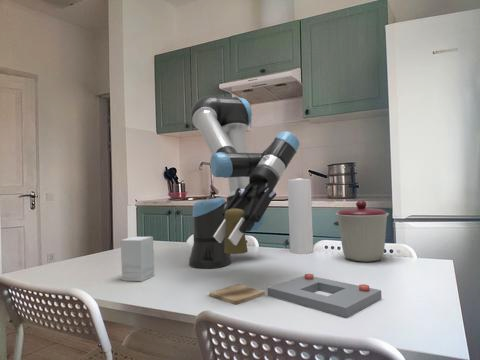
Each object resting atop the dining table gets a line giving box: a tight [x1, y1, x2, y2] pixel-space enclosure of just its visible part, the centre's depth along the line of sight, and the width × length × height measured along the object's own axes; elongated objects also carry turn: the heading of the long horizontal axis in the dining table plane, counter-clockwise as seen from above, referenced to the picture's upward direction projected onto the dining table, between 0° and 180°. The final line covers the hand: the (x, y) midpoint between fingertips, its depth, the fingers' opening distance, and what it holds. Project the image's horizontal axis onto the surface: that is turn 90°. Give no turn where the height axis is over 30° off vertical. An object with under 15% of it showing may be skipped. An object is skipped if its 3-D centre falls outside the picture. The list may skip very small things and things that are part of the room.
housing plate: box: [266, 273, 382, 319], centre depth 86 cm, size 22×16×3 cm
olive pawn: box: [224, 209, 248, 255], centre depth 90 cm, size 6×6×11 cm
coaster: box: [209, 283, 266, 306], centre depth 89 cm, size 10×10×1 cm
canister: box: [335, 200, 390, 263], centre depth 126 cm, size 18×18×21 cm
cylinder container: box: [287, 177, 314, 255], centre depth 144 cm, size 9×9×30 cm
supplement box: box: [120, 236, 155, 282], centre depth 110 cm, size 7×7×13 cm
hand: (224, 240), depth 87 cm, fingers closed on olive pawn, 5 cm apart
